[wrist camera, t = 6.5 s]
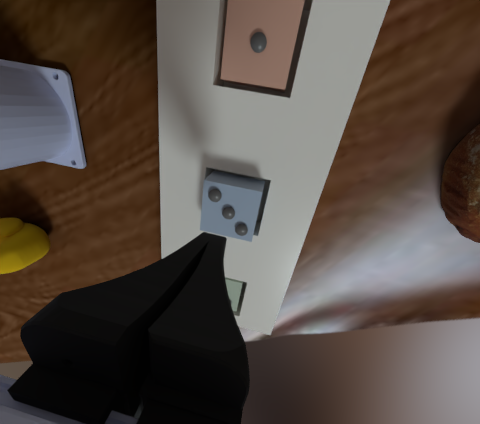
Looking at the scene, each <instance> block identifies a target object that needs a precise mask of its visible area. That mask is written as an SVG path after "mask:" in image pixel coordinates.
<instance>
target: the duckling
mask: <svg viewBox="0 0 480 424" xmlns="http://www.w3.org/2000/svg"><path fill="white" fill-rule="evenodd" d="M49 249H50V240H49V237H48V235H47V234H46V232H45V231H44V230H42V229H41V228H39V227H38V226H36V225H33V224H29V223H23V221H22V220H20V219H19V218H0V274H4V273H10V272H14V271H18V270H20V269H23V268H24V267H26V266H28V265H30V264H32V263H33V262H35V261H37V260H39V259H40V258H42V257H43V256H44V255H46V254H47V252H48V251H49Z"/></svg>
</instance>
